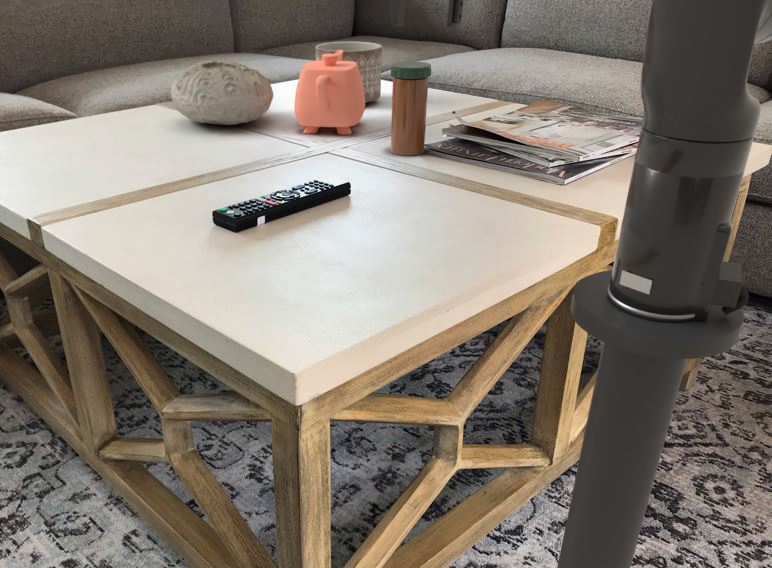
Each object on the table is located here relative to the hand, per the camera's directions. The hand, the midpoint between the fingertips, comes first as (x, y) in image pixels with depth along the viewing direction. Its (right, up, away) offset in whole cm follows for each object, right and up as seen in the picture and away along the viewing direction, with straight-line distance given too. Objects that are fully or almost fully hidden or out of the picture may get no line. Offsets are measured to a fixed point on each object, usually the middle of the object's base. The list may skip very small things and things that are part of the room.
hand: (424, 26), depth 107 cm
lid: (-2, -6, +1) cm, 6 cm away
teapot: (-13, -9, +21) cm, 26 cm away
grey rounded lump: (-32, -7, +25) cm, 41 cm away
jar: (-2, -16, +7) cm, 18 cm away
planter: (-10, +1, +39) cm, 40 cm away
